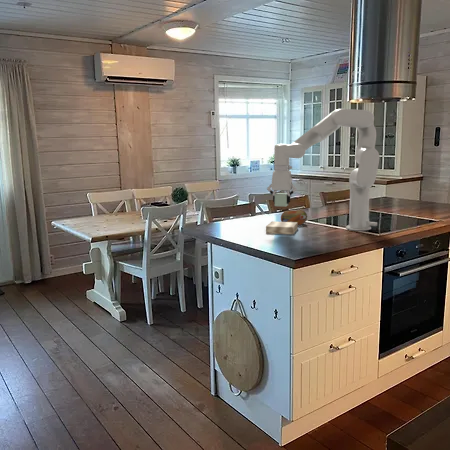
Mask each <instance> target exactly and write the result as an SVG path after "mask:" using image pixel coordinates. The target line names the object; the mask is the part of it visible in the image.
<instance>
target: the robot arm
mask: <svg viewBox="0 0 450 450" xmlns="http://www.w3.org/2000/svg"><path fill="white" fill-rule="evenodd" d="M374 121H375V115H374V113H372V111H370V110H367V109H355V108H353V109H352V108H338V109H334V110H333V111H331V112H330V113H329V114H328V115H326V116H325V117H324V118H323V119H321V120H320V121H319V122H318V123H316V124H315V125H314V126H312V127H311V128H310V129H308V131H306V132H305V133H304V134H302V135H301V136H299V137H298V138H297V139H296V140H294V141H293V142H292V143H291V144H288V143H278V144H277V143H276V144H275V145H274V149H273V150H274V155H273V156H274V163H273V164H274V169H273V172H272V176H271V183H270V184H269V186H268V187H266V190H267V191H268V192H269V193H270V194H271V195H272V202H273V204H274V205H275V194H277V193H278V191H279V192H280V191H284V192H285V193H287V204H288V205H289V204H290V203H291V196H292V195H293V194H294V193H295V192H296V191H297V187H296V186H295V185H294V184H293V176H292V171H291V170H293V166H292V165H290V159H301V158H303V157H305V154H306V151H307V150H308V149H310V148H311V147H312V146H314V145H315V144H316V145H317V144H318V143H320V142H323V141H324V140H326V139H327V138H328V137H329V136H331V135H332V134H333V133H335V132H336V131H337V130H338V129H340V128H341V127H346V128H347V127H348V128H355V129H356V130H357V132H358V141H357V147H356V149H355V150H356V151H355V155H354V160H355V162H356V163H357V164H358V167H357V168H355V169H353V170H352V171H351V172H350V174H349V178H348V183H349V215H348V217H349V218H348V220H349V221H348V225H346V226H345V228H346V230H349V231H355V232H357V231H358V232H360V231H361V232H362V231H364V232H365V231H369V230H372V227H377V226H378V222H375V221H370V218H369V213H370V212H369V209H370V208H369V207H370V205H369V204H370V188H372V186H373V185H374V184H375V181H376V178H377V174H378V169H379V164H380V163H379V162H380V153H379V151H378V150H377V149H376V148H375V147H376V141H377V130H376V129H377V128H376V127H375V124H374Z"/></svg>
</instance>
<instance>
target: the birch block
mask: <svg viewBox="0 0 450 450" xmlns="http://www.w3.org/2000/svg"><path fill="white" fill-rule="evenodd" d="M298 226H299V225H298V222H281V221H271V222H269V223H268V224H267V225H266V226H265V234H273V233H274V234H276V235H277V234H278V235H294V234H295V232H296V231H297V230H299V229H298Z"/></svg>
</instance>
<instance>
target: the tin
mask: <svg viewBox="0 0 450 450" xmlns="http://www.w3.org/2000/svg"><path fill="white" fill-rule="evenodd" d="M307 220H308V214H307V212H306V211H304V210H303V209H292V210H285V211H283V212H282V213H281V216H280V222H298V226H301V225H304V224H305V223H306V221H307Z"/></svg>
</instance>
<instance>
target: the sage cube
mask: <svg viewBox="0 0 450 450" xmlns="http://www.w3.org/2000/svg"><path fill="white" fill-rule="evenodd" d="M287 206H289V204H287V192H282V193H281V192H276V194H275V204H274V207H287Z"/></svg>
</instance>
